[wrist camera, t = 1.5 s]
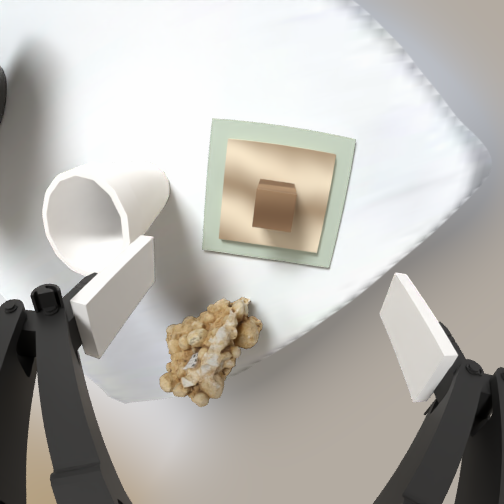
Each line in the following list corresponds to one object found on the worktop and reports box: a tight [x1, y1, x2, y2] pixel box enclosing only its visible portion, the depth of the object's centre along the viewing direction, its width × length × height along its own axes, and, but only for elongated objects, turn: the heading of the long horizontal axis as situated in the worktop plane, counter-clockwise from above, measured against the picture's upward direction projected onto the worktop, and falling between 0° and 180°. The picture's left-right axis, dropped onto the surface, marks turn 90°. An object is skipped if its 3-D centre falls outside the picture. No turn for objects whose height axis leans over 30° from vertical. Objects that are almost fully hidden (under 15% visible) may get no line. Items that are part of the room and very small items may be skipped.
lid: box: [219, 138, 336, 253], centre depth 28 cm, size 11×11×6 cm
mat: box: [202, 118, 356, 268], centre depth 31 cm, size 15×15×1 cm
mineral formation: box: [160, 297, 263, 407], centre depth 32 cm, size 8×13×15 cm, turn 135°
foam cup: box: [42, 162, 170, 276], centre depth 26 cm, size 10×9×13 cm
